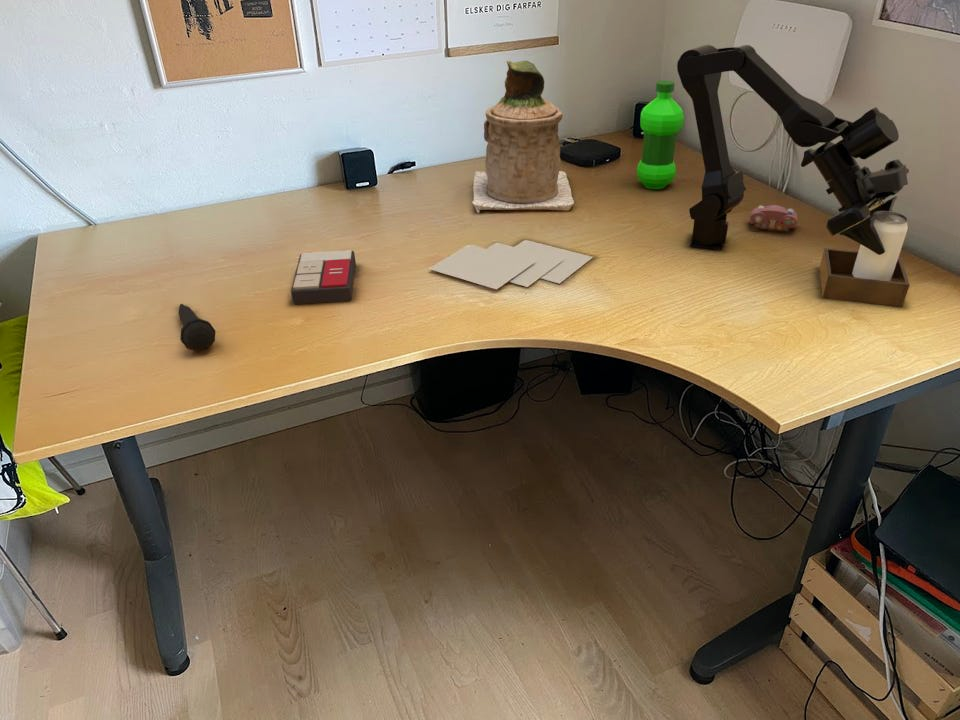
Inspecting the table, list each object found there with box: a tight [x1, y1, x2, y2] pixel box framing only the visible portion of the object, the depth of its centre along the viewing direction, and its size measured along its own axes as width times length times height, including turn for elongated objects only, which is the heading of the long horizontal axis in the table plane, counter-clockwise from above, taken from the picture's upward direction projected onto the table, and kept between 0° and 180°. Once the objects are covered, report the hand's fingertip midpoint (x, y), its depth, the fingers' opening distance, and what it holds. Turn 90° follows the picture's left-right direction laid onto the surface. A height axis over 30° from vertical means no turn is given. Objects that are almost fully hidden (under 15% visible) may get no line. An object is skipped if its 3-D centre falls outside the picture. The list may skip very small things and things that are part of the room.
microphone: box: [178, 303, 216, 352], centre depth 128 cm, size 6×6×20 cm
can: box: [851, 211, 909, 281], centre depth 129 cm, size 6×6×12 cm
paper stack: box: [428, 239, 594, 290], centre depth 147 cm, size 23×25×1 cm
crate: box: [818, 247, 910, 308], centre depth 134 cm, size 13×12×4 cm
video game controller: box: [749, 204, 799, 232], centre depth 157 cm, size 10×5×7 cm, turn 68°
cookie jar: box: [471, 59, 575, 214], centre depth 172 cm, size 25×25×32 cm
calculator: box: [290, 249, 357, 305], centre depth 141 cm, size 11×4×15 cm
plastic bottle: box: [636, 80, 685, 190], centre depth 176 cm, size 10×10×25 cm
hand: (889, 247), depth 128 cm, fingers closed on can, 6 cm apart
